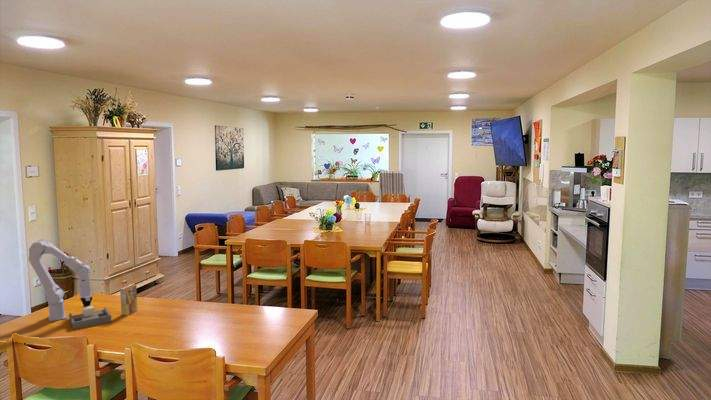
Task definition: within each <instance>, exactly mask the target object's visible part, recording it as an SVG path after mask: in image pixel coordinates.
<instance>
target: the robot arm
mask: <svg viewBox="0 0 711 400" xmlns="http://www.w3.org/2000/svg"><path fill="white" fill-rule="evenodd" d="M28 253H29V254H28V261H29V263H30V265H31V266H32V268H33V270H34V273H35V274H36V276H37V277H38V279H39V281H40V283H41V284H42V286H43V287H44V294H45V295H46V302H47V303H48V314H49V315H48V316H47V318H48V321H49V322H55V321H60V320H64V319H65V320H66V319H67V316H66V313H65V300H64V296H65V290H64V289H63V288H61V287H60V286H59V285H58V284H56V283H55V281H54V279H53V277H52V275H51V274H50V272H49V270H48V268H47V267H46V265H45V263H44V261H43V260H42V257H43V256H44V255H45V254H47V255H49V254H51V255H52V256H54V257H56V258H58V259H59V260H61V261H63V262H64V265H65V266H66V267H68V268H69V269H71V270H72V271H74V272H76V275H77V276H78V283H79V284H78V285H79V297H80V298H79V299H80V301H81V302H82V305H83V306H82V307H86V306H91V303H92V300H93V297H92V296H93V295H95V293H94V292H92V278H91V273H90V272H91V271H92V267H91V266H90V264H88V263H85V262H82V261H81V260H79V259H78V257H77V256H69V255H68V254H66V253H64V252H63V251H62V250H60V249H59V248H58V247H56V246H55V245H54V244H53V243H52V242H50V241H48V240H47V239H39V240H37V241H36V242H33V243H32V244H31V245H30V247H29V248H28Z"/></svg>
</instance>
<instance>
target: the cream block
mask: <svg viewBox="0 0 711 400" xmlns="http://www.w3.org/2000/svg"><path fill="white" fill-rule="evenodd" d="M81 310H82V314H83V316H84V317H86V316H91V315H94V312H95V307H94V306H93V305H90V306H86V307H84V306H82V309H81Z"/></svg>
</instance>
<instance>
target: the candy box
mask: <svg viewBox="0 0 711 400" xmlns="http://www.w3.org/2000/svg"><path fill="white" fill-rule="evenodd" d="M137 290H138V289H137V284H133V283H132V284H131V283H130V284H128V285H125V286H122V287H121V288H119V291H120V292H119V293H120V296H119V297H120V309H121V310H120V313H121V316H129V315H131V314H133V313H134V312H137V311H139V309H138V292H137Z"/></svg>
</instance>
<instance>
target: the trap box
mask: <svg viewBox="0 0 711 400" xmlns="http://www.w3.org/2000/svg"><path fill="white" fill-rule="evenodd" d="M68 319H69V322H70V324H71V328H72V329H73V330H76V329H77V330H78V329H81V328H87V327H91V326H97V325H103V324H107V323H112V314H111V313H110V312H109V310H108V308H107V306H104V307H103V309H101V310H96V311H95V310H94V315H91V316H86V317H84V316H83V313H80V314H75V315H74V314H73V315H72V313H71V312H70V313H68Z"/></svg>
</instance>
